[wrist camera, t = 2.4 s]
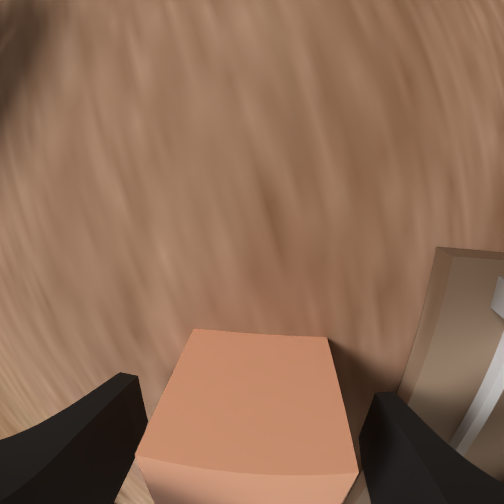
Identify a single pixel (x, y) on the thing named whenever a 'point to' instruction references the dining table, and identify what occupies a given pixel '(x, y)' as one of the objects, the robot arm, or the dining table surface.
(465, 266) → the track board
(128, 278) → the dining table surface
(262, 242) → the dining table surface
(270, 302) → the dining table surface
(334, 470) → the terracotta block
